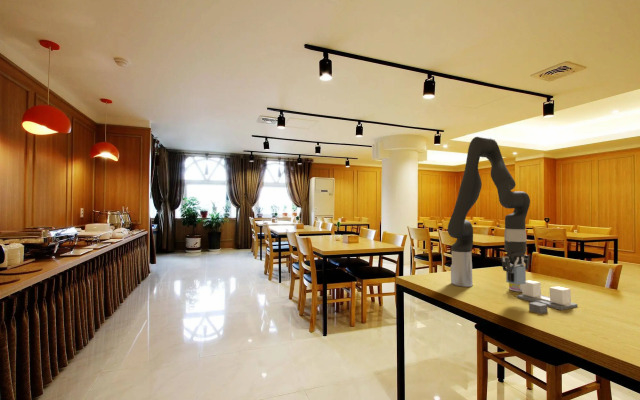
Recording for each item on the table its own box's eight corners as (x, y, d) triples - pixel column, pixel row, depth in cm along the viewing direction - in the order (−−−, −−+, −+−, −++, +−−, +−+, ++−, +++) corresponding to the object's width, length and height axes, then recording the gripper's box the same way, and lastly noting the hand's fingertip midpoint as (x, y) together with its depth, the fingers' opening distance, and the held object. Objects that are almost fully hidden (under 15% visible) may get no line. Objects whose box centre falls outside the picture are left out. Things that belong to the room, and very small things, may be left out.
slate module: (506, 282, 120) (506, 265, 120) (514, 280, 121) (514, 264, 121) (517, 284, 115) (516, 267, 115) (525, 283, 117) (525, 266, 117)
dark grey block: (529, 310, 110) (528, 302, 110) (536, 309, 111) (536, 301, 111) (540, 314, 106) (540, 306, 106) (547, 312, 107) (547, 304, 108)
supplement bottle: (520, 288, 139) (519, 261, 140) (529, 292, 133) (528, 264, 133) (506, 288, 140) (505, 261, 140) (514, 292, 133) (512, 264, 134)
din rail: (516, 297, 125) (516, 281, 126) (532, 294, 129) (531, 279, 129) (561, 310, 109) (560, 291, 110) (577, 306, 113) (576, 288, 113)
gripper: (518, 238, 125) (519, 277, 124) (494, 239, 120) (494, 280, 119) (536, 240, 117) (537, 281, 117) (511, 241, 113) (512, 285, 112)
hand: (515, 280), depth 118 cm, fingers closed on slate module, 5 cm apart
